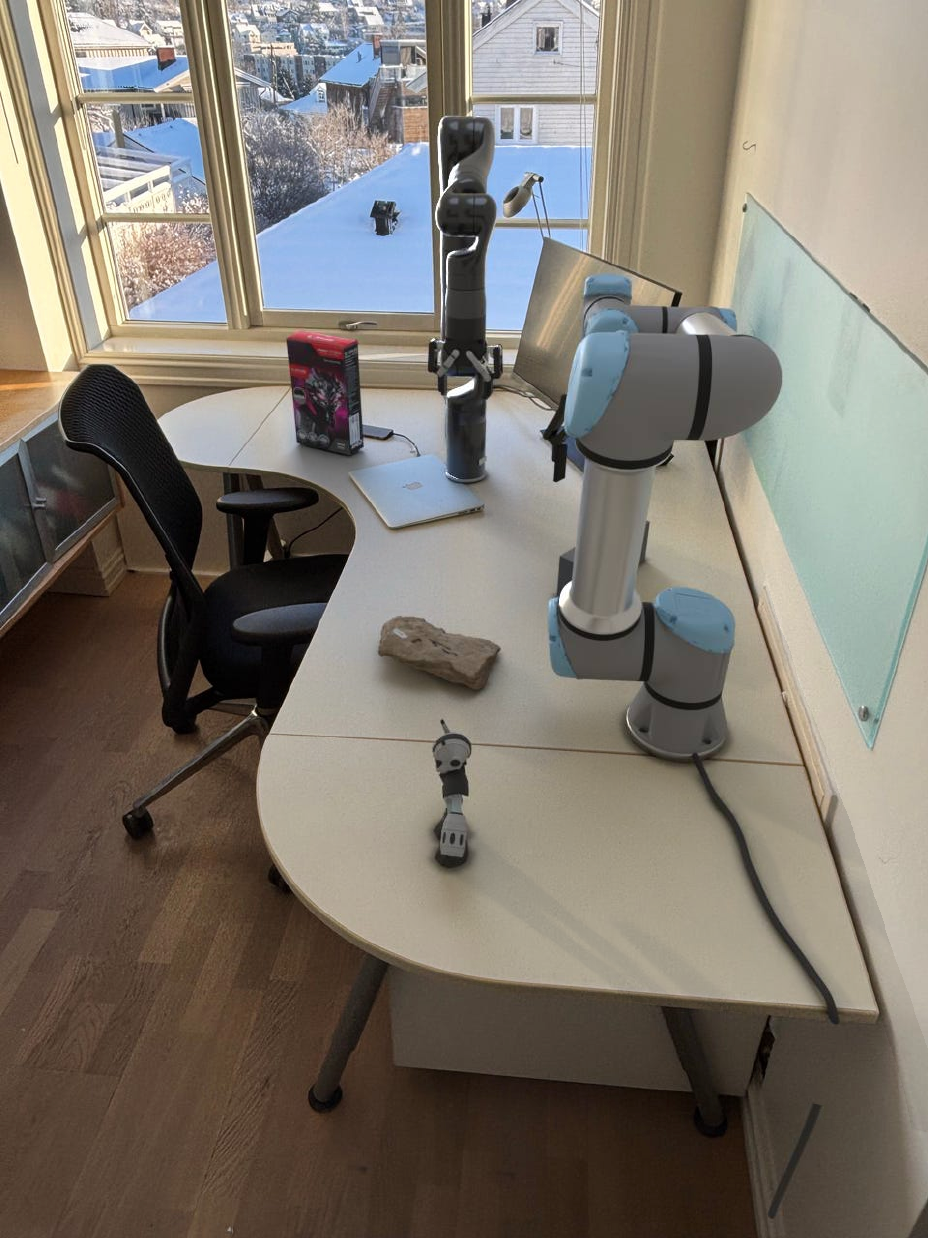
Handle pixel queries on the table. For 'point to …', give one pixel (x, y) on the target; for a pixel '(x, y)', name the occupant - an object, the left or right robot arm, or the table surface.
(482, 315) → the left robot arm
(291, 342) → the graphics card box
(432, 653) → the stone
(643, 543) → the bar
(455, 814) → the robot
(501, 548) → the table surface
